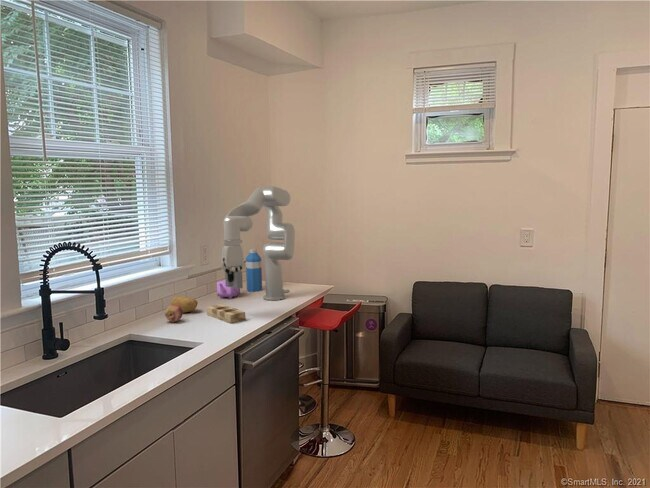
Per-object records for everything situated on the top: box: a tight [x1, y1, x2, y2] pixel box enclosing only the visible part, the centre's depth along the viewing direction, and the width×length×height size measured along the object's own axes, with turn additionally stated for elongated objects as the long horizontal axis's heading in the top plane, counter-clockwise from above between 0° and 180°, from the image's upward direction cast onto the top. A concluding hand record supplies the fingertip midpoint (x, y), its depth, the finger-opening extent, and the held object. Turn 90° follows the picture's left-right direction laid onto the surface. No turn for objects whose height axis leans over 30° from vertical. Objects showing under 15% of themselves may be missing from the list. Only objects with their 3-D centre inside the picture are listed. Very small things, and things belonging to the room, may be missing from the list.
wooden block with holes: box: [206, 303, 246, 324], centre depth 238 cm, size 8×22×4 cm, turn 42°
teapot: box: [216, 279, 241, 300], centre depth 282 cm, size 15×13×11 cm
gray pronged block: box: [224, 269, 244, 290], centre depth 237 cm, size 10×3×8 cm, turn 44°
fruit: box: [164, 304, 183, 323], centre depth 232 cm, size 8×8×8 cm
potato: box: [171, 295, 198, 314], centre depth 250 cm, size 10×14×8 cm
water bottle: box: [245, 248, 263, 293], centre depth 299 cm, size 9×9×25 cm
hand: (233, 280), depth 237 cm, fingers closed on gray pronged block, 3 cm apart
